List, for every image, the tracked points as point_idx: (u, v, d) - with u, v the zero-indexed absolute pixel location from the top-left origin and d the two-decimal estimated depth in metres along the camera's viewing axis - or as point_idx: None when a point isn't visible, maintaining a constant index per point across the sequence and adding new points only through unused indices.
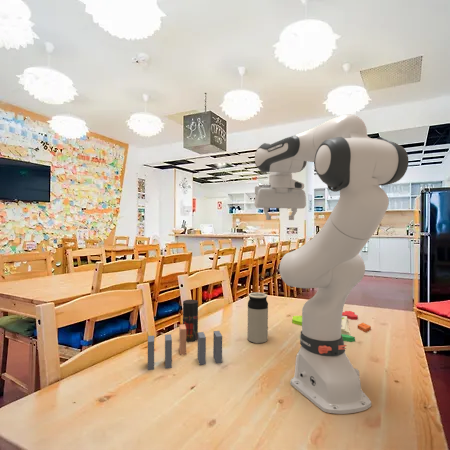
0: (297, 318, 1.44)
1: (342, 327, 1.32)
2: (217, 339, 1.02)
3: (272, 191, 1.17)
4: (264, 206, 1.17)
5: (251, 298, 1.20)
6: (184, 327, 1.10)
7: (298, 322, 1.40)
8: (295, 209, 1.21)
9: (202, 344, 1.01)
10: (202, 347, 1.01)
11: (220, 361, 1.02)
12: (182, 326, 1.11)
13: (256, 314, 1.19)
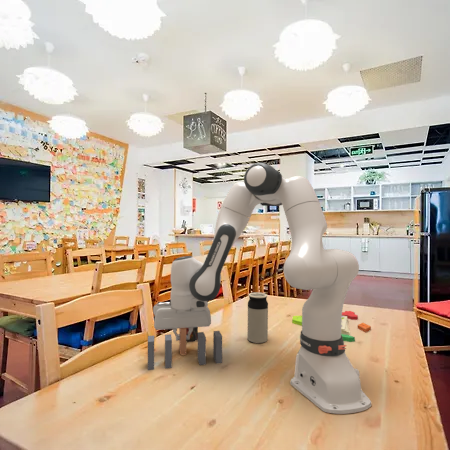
0: (297, 318, 1.44)
1: (342, 327, 1.32)
2: (217, 339, 1.02)
3: (171, 311, 1.08)
4: (162, 328, 1.08)
5: (251, 298, 1.20)
6: None
7: (298, 322, 1.40)
8: (191, 328, 1.11)
9: (202, 344, 1.01)
10: (202, 347, 1.01)
11: (220, 361, 1.02)
12: None
13: (256, 314, 1.19)
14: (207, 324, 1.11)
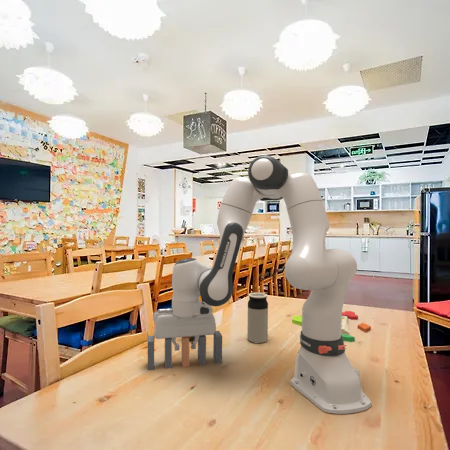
0: (297, 318, 1.44)
1: (342, 327, 1.32)
2: (217, 339, 1.02)
3: (173, 319, 0.99)
4: (163, 337, 0.99)
5: (251, 298, 1.20)
6: (187, 337, 1.01)
7: (298, 322, 1.40)
8: (197, 336, 1.02)
9: (202, 344, 1.01)
10: (202, 347, 1.01)
11: (220, 361, 1.02)
12: None
13: (256, 314, 1.19)
14: (212, 332, 1.02)
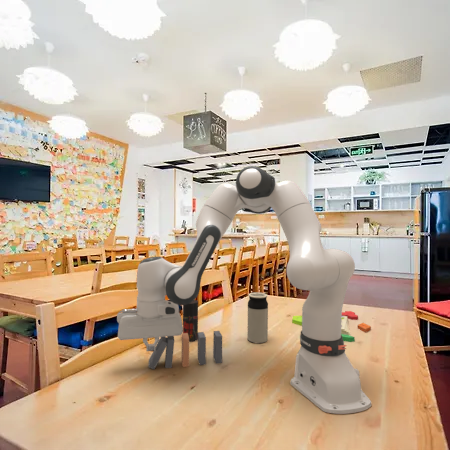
0: (297, 318, 1.45)
1: (342, 327, 1.32)
2: (217, 339, 1.02)
3: (137, 319, 0.97)
4: (127, 338, 0.96)
5: (251, 298, 1.20)
6: (187, 337, 1.01)
7: (298, 322, 1.41)
8: (157, 338, 0.99)
9: (202, 344, 1.01)
10: (202, 347, 1.01)
11: (220, 361, 1.02)
12: (184, 335, 1.03)
13: (256, 314, 1.19)
14: (178, 333, 1.00)
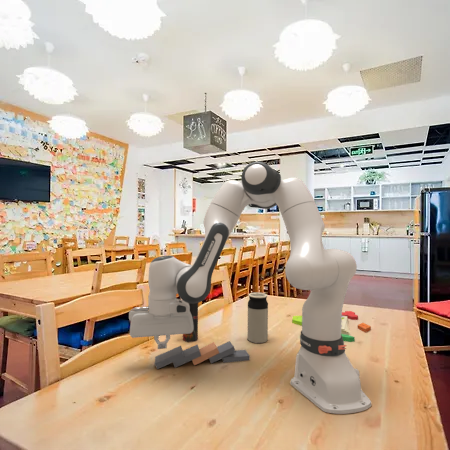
0: (297, 318, 1.45)
1: (342, 327, 1.32)
2: (246, 357, 1.05)
3: (149, 317, 0.98)
4: (139, 336, 0.97)
5: (251, 298, 1.20)
6: (217, 350, 1.04)
7: (298, 322, 1.41)
8: (168, 336, 1.00)
9: (228, 351, 1.04)
10: (226, 353, 1.03)
11: (225, 362, 1.03)
12: None
13: (256, 314, 1.19)
14: (189, 331, 1.01)
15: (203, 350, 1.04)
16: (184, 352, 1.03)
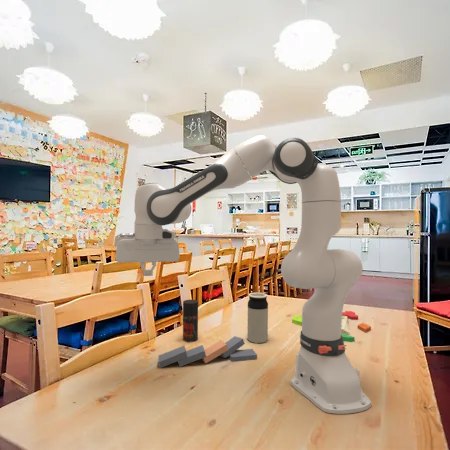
0: (297, 318, 1.45)
1: (342, 327, 1.31)
2: (254, 356, 1.05)
3: (135, 243, 0.98)
4: (125, 261, 0.98)
5: (251, 298, 1.20)
6: None
7: (298, 322, 1.41)
8: (154, 263, 1.01)
9: (239, 344, 1.08)
10: (237, 345, 1.08)
11: None
12: None
13: (256, 314, 1.19)
14: (175, 258, 1.01)
15: (212, 348, 1.05)
16: (189, 352, 1.03)
